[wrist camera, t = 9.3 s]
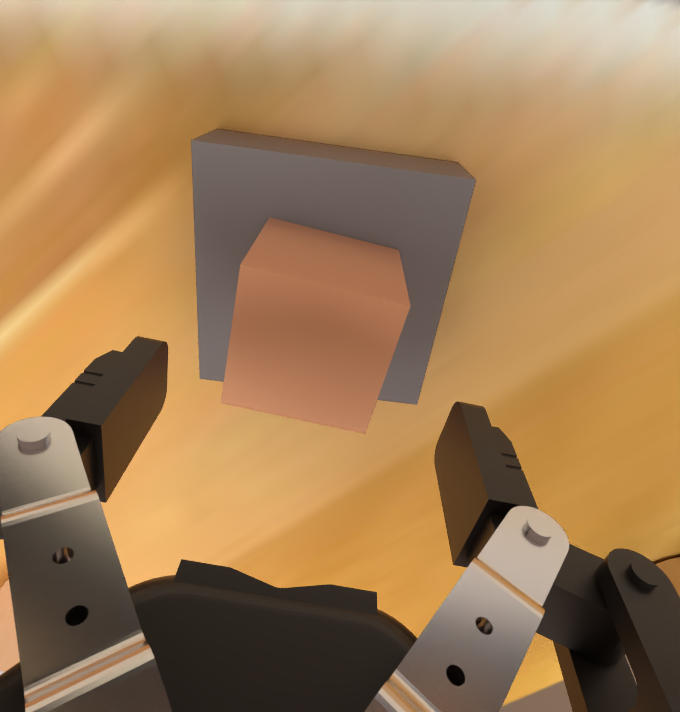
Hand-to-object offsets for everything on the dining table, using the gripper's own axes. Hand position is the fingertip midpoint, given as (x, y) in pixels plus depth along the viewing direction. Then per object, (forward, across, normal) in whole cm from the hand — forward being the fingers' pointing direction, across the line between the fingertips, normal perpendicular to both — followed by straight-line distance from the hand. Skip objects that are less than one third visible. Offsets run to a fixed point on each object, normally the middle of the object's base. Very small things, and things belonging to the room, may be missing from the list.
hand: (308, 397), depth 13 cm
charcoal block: (+11, 0, 0) cm, 11 cm away
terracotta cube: (+7, 0, 0) cm, 7 cm away
